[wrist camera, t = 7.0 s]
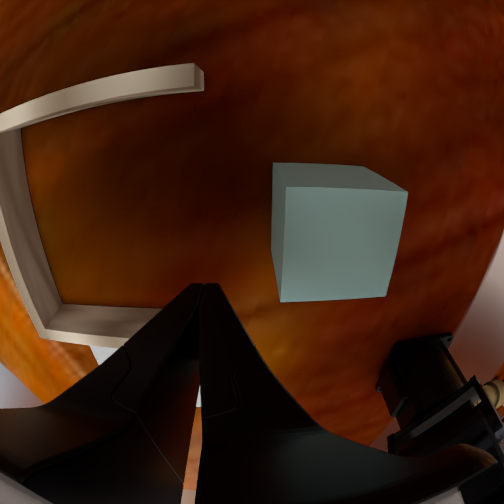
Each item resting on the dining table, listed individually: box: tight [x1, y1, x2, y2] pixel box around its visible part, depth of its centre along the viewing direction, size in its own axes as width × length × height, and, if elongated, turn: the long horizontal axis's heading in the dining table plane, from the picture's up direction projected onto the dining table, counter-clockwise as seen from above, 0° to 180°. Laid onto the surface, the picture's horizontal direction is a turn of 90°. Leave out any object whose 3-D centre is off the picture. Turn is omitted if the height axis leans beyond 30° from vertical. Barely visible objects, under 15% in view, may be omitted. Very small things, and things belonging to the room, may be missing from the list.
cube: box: [271, 163, 408, 302], centre depth 14 cm, size 5×5×5 cm
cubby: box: [0, 63, 204, 348], centre depth 14 cm, size 13×15×3 cm
